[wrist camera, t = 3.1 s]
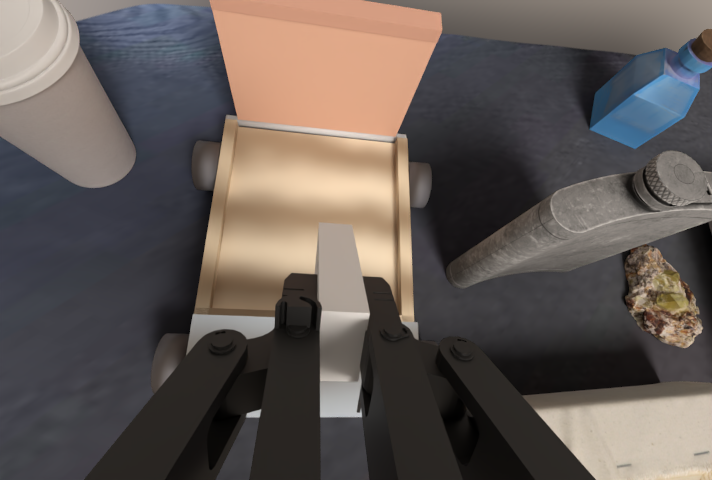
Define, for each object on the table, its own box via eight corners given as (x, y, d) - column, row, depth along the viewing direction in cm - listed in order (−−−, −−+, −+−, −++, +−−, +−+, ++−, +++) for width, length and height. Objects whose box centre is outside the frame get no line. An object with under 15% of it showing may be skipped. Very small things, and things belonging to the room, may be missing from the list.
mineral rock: (732, 337, 36) (693, 349, 32) (681, 344, 40) (641, 355, 36) (681, 237, 40) (641, 237, 36) (639, 251, 43) (598, 253, 40)
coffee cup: (103, 97, 36) (-18, -73, 22) (175, 154, 35) (97, 15, 21) (15, 159, 33) (-194, 5, 19) (92, 224, 32) (-66, 113, 18)
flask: (440, 254, 36) (565, 158, 20) (563, 237, 39) (764, 140, 22) (449, 290, 35) (590, 221, 18) (575, 270, 38) (796, 194, 21)
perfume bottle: (634, 148, 45) (746, 76, 34) (589, 129, 45) (686, 50, 34) (638, 112, 47) (744, 33, 36) (595, 93, 47) (688, 8, 36)
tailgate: (403, 145, 37) (457, 34, 24) (227, 126, 34) (188, -7, 22) (403, 130, 37) (456, 15, 25) (229, 111, 35) (193, -27, 23)
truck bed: (426, 404, 31) (466, 416, 24) (165, 404, 28) (119, 417, 21) (415, 162, 39) (443, 114, 32) (211, 141, 36) (189, 83, 29)
